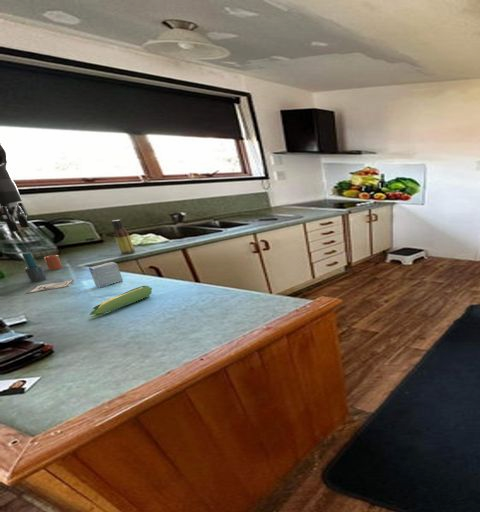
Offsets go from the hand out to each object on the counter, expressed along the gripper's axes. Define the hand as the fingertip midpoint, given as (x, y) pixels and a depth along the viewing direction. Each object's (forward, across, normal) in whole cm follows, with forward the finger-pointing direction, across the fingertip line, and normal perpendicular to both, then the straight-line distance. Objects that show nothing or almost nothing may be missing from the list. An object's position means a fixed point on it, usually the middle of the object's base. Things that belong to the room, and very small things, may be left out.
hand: (20, 229), depth 116 cm
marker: (+24, 0, -1) cm, 24 cm away
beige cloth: (+24, +13, +7) cm, 28 cm away
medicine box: (+24, +22, +27) cm, 42 cm away
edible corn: (+24, +53, +37) cm, 69 cm away
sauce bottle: (+24, -33, +24) cm, 47 cm away
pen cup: (+24, -18, -1) cm, 30 cm away
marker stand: (+24, 0, -1) cm, 24 cm away
